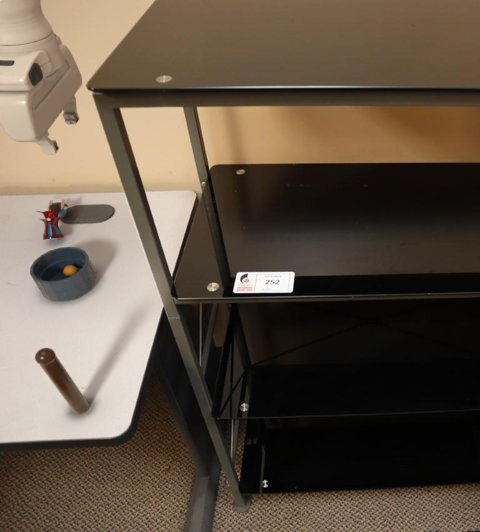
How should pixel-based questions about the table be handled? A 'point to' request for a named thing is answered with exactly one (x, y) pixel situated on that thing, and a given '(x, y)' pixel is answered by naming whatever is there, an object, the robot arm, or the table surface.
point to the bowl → (52, 276)
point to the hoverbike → (53, 220)
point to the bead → (70, 270)
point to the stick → (61, 380)
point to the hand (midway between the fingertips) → (63, 136)
